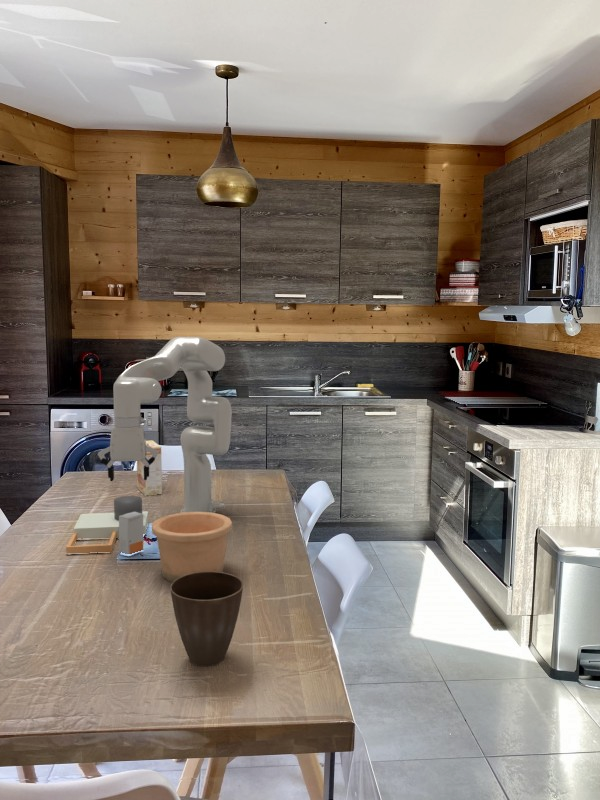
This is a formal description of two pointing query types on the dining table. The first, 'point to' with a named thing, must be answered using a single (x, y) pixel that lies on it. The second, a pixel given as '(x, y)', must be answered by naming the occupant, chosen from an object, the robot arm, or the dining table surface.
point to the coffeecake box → (150, 472)
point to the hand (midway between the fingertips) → (128, 479)
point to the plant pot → (206, 613)
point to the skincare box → (131, 533)
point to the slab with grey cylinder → (104, 525)
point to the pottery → (191, 542)
